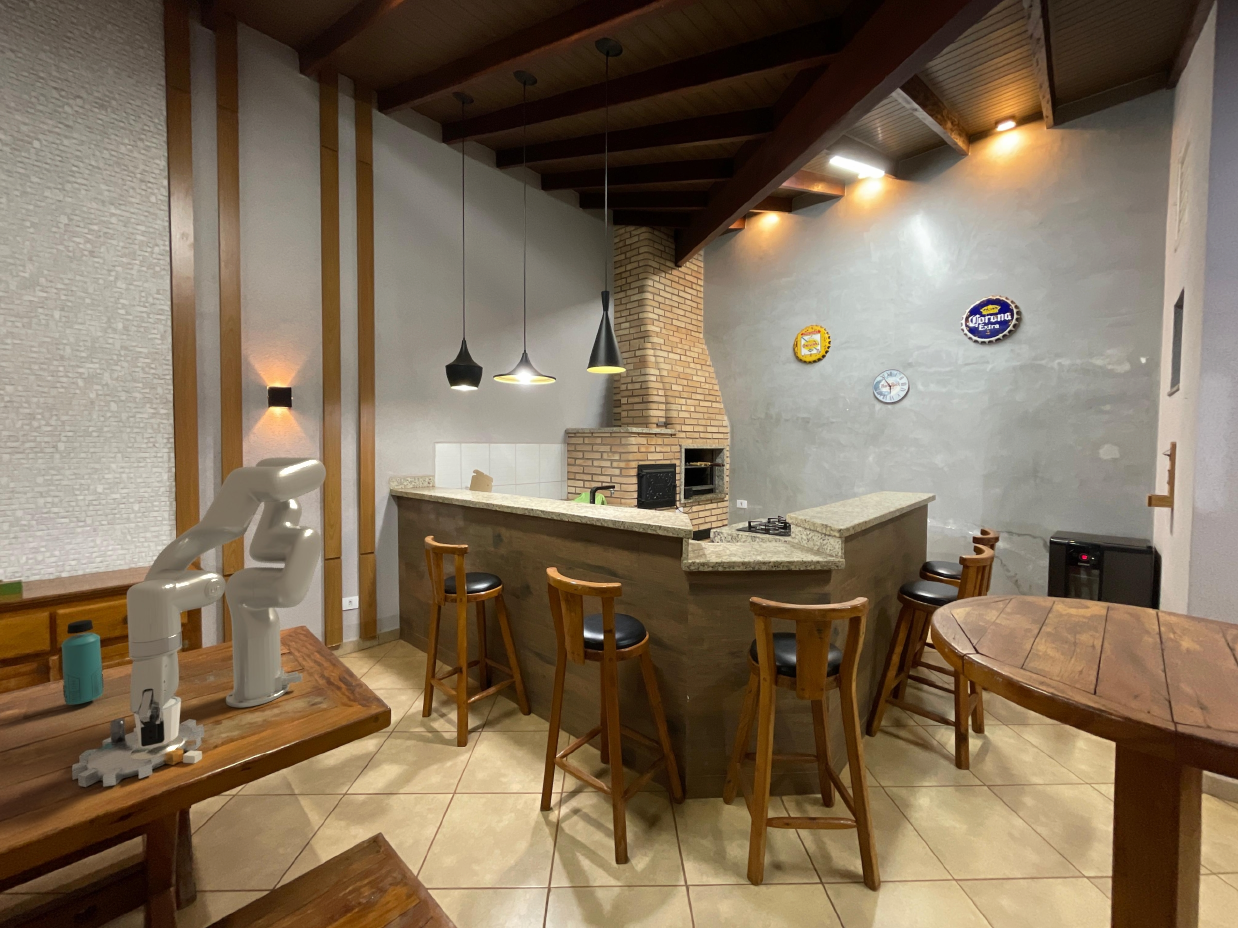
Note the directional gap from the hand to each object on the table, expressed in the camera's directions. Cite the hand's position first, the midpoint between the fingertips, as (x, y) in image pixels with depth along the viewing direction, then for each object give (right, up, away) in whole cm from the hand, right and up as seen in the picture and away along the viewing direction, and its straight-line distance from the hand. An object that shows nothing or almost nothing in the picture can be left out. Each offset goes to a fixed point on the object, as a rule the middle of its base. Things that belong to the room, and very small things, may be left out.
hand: (159, 733), depth 98 cm
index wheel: (-4, -5, +1) cm, 6 cm away
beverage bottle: (-37, -4, +20) cm, 43 cm away
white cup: (0, -1, 0) cm, 1 cm away
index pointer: (+7, -5, -1) cm, 9 cm away
